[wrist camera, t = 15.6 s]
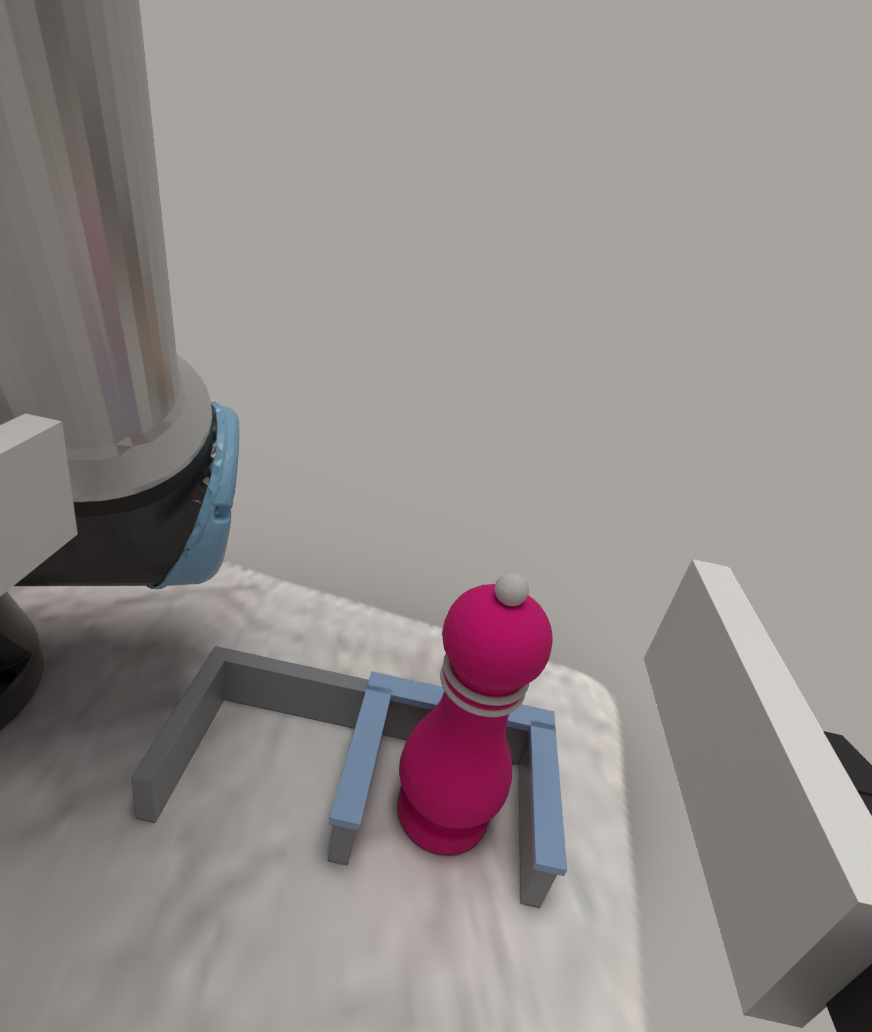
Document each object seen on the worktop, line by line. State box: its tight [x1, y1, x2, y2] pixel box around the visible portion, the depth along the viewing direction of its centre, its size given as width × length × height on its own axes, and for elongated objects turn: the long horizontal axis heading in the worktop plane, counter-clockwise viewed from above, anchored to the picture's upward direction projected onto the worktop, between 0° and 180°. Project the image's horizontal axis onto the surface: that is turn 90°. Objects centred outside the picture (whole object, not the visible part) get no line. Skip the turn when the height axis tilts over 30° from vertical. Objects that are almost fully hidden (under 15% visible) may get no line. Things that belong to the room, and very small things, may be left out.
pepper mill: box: [398, 572, 552, 855], centre depth 36 cm, size 7×7×20 cm
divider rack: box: [132, 646, 567, 908], centre depth 40 cm, size 26×12×5 cm, turn 84°
